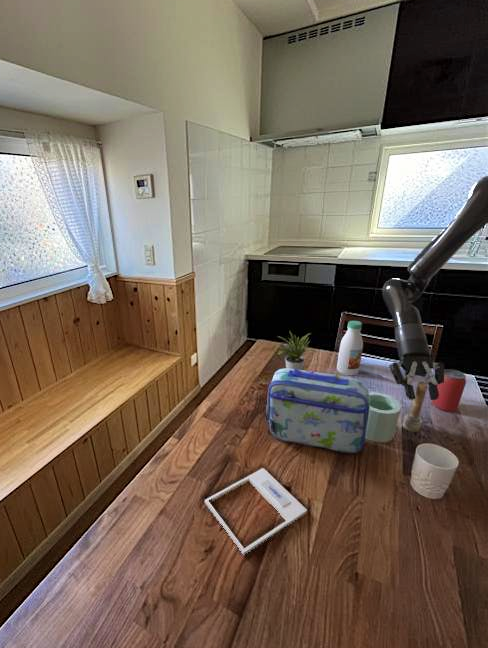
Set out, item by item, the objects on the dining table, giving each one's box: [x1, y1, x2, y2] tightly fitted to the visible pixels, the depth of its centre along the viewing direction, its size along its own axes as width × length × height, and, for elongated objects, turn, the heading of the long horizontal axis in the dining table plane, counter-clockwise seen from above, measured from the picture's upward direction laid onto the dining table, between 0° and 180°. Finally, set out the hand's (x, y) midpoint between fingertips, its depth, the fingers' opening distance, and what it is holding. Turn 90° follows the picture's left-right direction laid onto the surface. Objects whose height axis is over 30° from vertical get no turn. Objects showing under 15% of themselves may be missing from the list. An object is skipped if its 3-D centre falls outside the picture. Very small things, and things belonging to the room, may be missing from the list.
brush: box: [402, 381, 429, 433], centre depth 96 cm, size 4×4×15 cm
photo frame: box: [204, 467, 308, 557], centre depth 77 cm, size 15×1×18 cm
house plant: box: [274, 330, 312, 370], centre depth 127 cm, size 14×14×16 cm
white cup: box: [409, 442, 460, 500], centre depth 78 cm, size 8×8×10 cm
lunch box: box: [265, 367, 370, 454], centre depth 93 cm, size 26×11×21 cm, turn 65°
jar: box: [365, 391, 402, 443], centre depth 96 cm, size 10×10×10 cm
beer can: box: [431, 368, 467, 412], centre depth 104 cm, size 7×7×12 cm
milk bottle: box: [336, 320, 364, 376], centre depth 125 cm, size 8×8×20 cm
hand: (423, 399), depth 93 cm, fingers open, 5 cm apart
